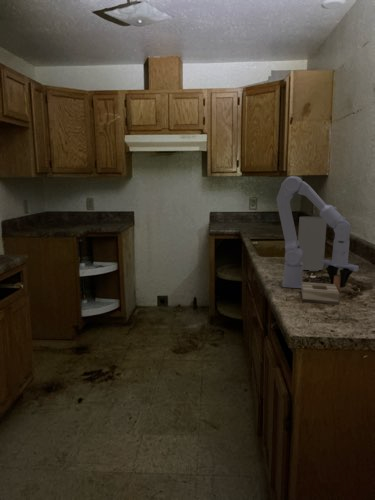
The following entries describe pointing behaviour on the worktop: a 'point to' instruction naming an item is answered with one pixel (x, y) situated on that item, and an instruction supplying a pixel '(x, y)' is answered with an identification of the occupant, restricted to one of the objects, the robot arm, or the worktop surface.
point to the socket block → (320, 293)
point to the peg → (337, 282)
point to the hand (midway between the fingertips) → (337, 285)
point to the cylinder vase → (312, 242)
